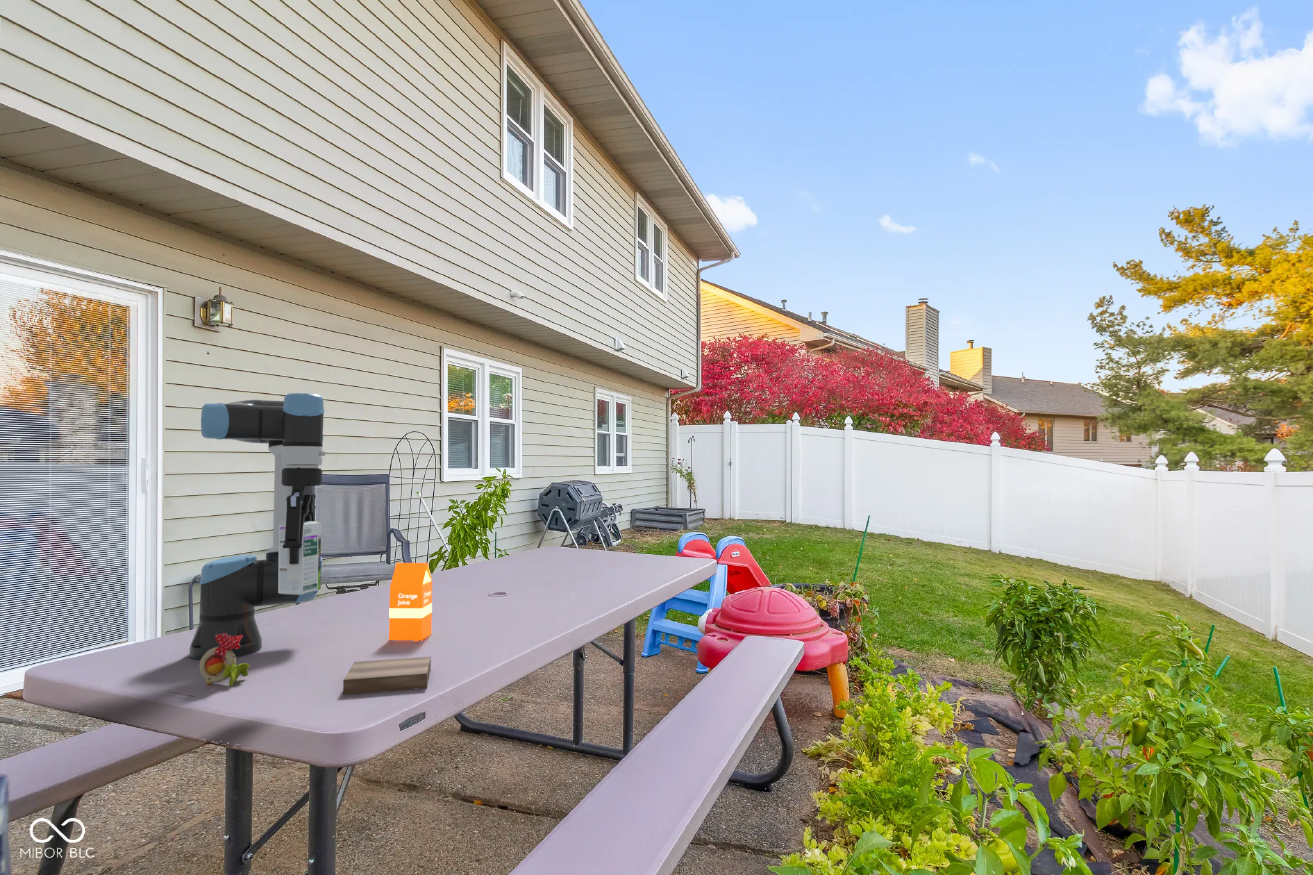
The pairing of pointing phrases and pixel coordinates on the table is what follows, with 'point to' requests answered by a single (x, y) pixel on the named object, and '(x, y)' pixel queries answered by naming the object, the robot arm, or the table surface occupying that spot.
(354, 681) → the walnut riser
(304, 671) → the table surface
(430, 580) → the orange juice
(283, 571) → the syrup box
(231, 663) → the bird rattle
